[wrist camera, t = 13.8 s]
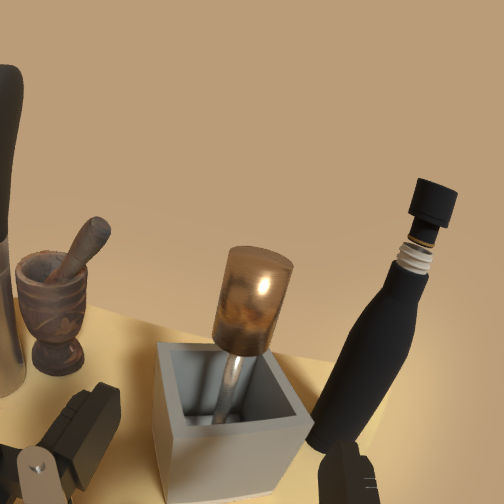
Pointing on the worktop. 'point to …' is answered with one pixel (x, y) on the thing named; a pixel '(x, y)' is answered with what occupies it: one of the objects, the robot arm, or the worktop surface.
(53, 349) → the mortar and pestle
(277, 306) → the plunger
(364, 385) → the black water bottle
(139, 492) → the worktop surface
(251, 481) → the grey open box
